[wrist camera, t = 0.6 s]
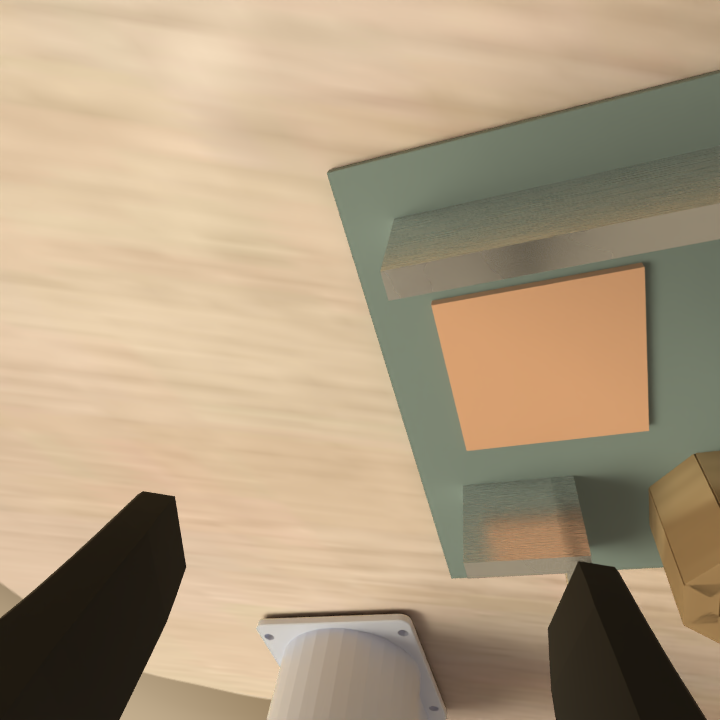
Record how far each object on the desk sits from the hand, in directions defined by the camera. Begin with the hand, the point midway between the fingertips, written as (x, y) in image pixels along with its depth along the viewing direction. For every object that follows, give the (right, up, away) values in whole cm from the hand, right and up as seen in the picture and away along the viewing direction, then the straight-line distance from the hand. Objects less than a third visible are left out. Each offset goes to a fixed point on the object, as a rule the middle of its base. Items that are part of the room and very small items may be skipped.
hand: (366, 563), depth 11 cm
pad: (+6, +4, +8) cm, 11 cm away
